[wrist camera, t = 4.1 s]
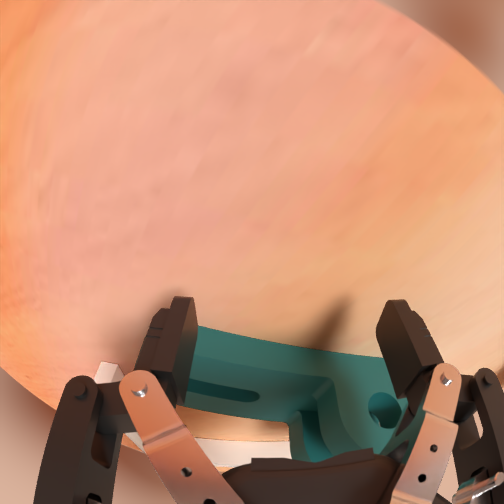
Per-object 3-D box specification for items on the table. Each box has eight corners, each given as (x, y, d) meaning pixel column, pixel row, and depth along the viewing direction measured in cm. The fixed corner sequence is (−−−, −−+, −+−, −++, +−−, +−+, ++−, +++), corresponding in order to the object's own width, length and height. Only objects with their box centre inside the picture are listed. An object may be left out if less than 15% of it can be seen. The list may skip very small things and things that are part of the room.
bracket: (403, 357, 17) (434, 449, 11) (356, 402, 21) (371, 480, 14) (145, 308, 15) (99, 432, 8) (143, 368, 18) (117, 462, 12)
